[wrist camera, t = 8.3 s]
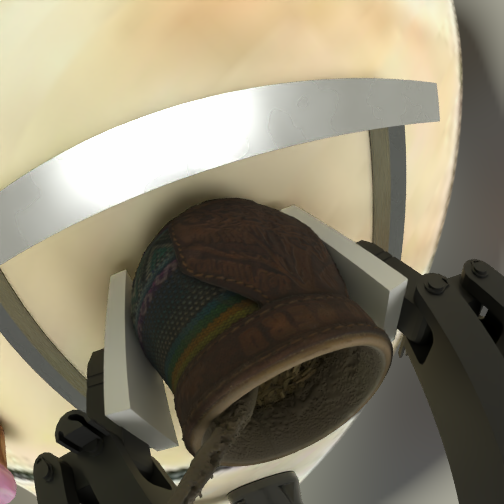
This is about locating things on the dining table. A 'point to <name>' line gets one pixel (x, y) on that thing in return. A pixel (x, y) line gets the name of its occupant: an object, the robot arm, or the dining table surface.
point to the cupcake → (5, 474)
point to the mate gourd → (252, 336)
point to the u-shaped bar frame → (198, 160)
